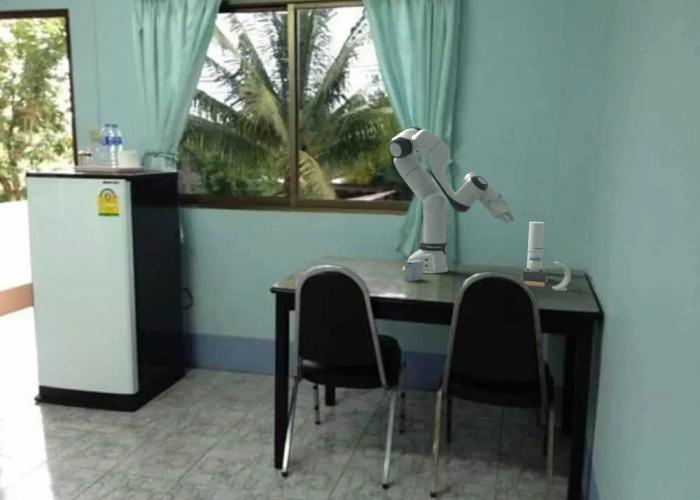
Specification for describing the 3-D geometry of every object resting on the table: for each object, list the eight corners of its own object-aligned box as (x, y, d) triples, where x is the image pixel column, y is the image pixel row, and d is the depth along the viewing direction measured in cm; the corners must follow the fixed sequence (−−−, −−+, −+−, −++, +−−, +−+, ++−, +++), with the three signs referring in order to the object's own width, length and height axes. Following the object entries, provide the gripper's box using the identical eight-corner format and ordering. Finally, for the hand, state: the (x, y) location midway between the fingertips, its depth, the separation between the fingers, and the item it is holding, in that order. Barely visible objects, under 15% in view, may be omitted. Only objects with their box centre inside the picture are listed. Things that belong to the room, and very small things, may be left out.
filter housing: (520, 281, 282) (520, 271, 281) (520, 276, 294) (521, 267, 293) (547, 283, 279) (548, 273, 278) (547, 278, 290) (547, 268, 289)
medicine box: (415, 278, 286) (415, 259, 285) (422, 279, 283) (423, 260, 282) (404, 280, 281) (404, 261, 280) (411, 281, 278) (412, 262, 276)
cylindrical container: (542, 274, 300) (545, 223, 296) (527, 273, 301) (530, 222, 298) (540, 271, 307) (543, 221, 303) (526, 271, 308) (528, 221, 305)
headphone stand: (551, 288, 267) (553, 260, 266) (565, 288, 267) (567, 261, 266) (555, 290, 263) (557, 262, 261) (569, 290, 263) (571, 262, 261)
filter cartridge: (528, 279, 284) (529, 257, 283) (528, 277, 289) (529, 256, 288) (540, 280, 283) (541, 258, 281) (539, 278, 288) (541, 256, 286)
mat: (523, 285, 272) (523, 284, 272) (523, 282, 280) (523, 280, 280) (544, 287, 269) (544, 286, 269) (544, 283, 278) (544, 282, 278)
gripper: (489, 197, 279) (510, 219, 276) (501, 194, 297) (521, 214, 294) (479, 206, 282) (500, 228, 279) (492, 203, 300) (511, 223, 297)
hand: (511, 221), depth 287 cm, fingers open, 8 cm apart
